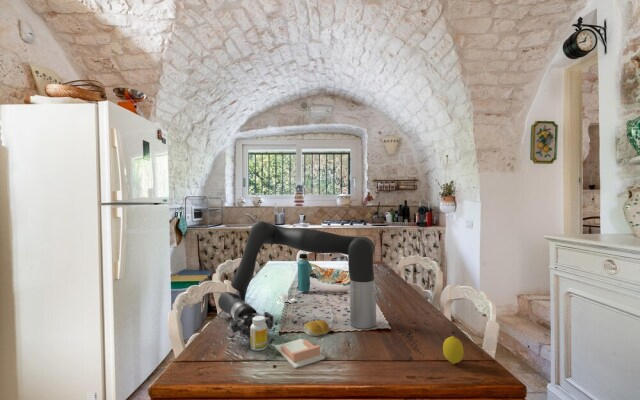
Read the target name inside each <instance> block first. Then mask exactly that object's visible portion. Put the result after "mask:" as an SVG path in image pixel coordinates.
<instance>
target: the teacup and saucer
mask: <svg viewBox="0 0 640 400" xmlns="http://www.w3.org/2000/svg"><path fill="white" fill-rule="evenodd" d="M288 297H289V296H288V293H281V294H279V296H278V298H279V299H278V300H277V301H276V302H275V303H276V305H279V306H285V305H284V304H286V303H285V302H287V303H288V302H289V303H292V304H294V303H296V301H297V300H296V299H295V298H290V299H288ZM287 300H288V301H287ZM280 302H281V303H280ZM289 303H288V304H289Z"/></svg>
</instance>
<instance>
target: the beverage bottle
mask: <svg viewBox="0 0 640 400" xmlns="http://www.w3.org/2000/svg"><path fill="white" fill-rule="evenodd" d="M299 259H301V260H299V261H297V262H296V263H297V290H298V291H299V292H309V291H310V290H311V281H310V280H311V276H310V274H311V272H310V261H309V260H308V254H307V253H300V254H299ZM306 259H307V260H306Z"/></svg>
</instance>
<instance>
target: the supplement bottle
mask: <svg viewBox="0 0 640 400" xmlns="http://www.w3.org/2000/svg"><path fill="white" fill-rule="evenodd" d="M252 322H253V324H252V325H251V327H249V328H250V330H249V332H250V337H249V338H250V343H249V345H250V349H251V350H253V351H262V350H265V349H266V348H267V346H268V327H267V324H266V321H265V317H264V316H256V317H253V321H252ZM264 322H265V323H264Z"/></svg>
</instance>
